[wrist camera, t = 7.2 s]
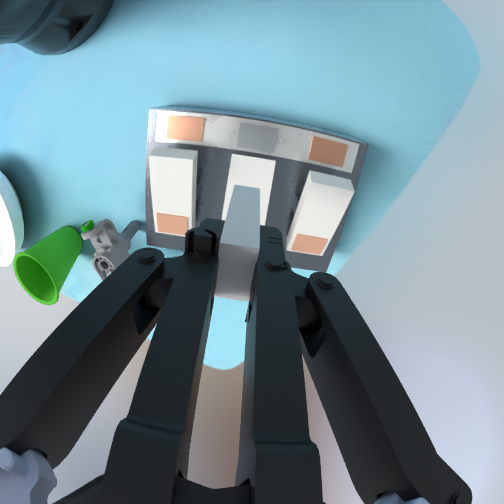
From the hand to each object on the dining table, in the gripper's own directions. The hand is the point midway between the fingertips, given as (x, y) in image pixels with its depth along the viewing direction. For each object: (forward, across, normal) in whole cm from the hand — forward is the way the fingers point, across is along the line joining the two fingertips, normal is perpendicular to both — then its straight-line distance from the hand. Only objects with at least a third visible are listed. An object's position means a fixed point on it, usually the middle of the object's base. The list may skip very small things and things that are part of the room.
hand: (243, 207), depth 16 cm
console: (+16, 0, -4) cm, 17 cm away
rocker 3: (+9, +7, -4) cm, 12 cm away
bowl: (+17, -45, -12) cm, 49 cm away
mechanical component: (+17, -14, -12) cm, 25 cm away
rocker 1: (+9, -7, -4) cm, 12 cm away
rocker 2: (+9, 0, -4) cm, 10 cm away
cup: (+17, -27, -16) cm, 36 cm away
